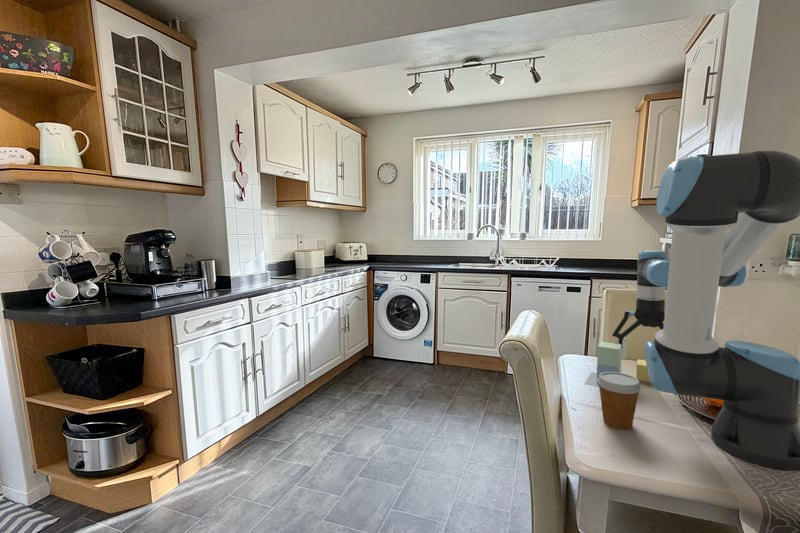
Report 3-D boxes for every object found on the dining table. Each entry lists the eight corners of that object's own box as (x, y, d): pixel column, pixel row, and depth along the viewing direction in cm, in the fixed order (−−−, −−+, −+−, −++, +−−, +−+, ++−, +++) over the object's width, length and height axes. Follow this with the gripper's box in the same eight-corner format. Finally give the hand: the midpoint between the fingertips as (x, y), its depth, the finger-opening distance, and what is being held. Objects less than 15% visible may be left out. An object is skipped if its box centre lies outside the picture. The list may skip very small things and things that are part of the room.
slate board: (629, 395, 105) (629, 393, 105) (584, 386, 113) (584, 383, 112) (632, 382, 115) (632, 379, 115) (591, 374, 122) (591, 372, 122)
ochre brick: (658, 386, 111) (659, 368, 111) (636, 382, 115) (636, 364, 114) (659, 380, 116) (659, 362, 116) (637, 376, 120) (638, 359, 119)
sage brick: (619, 368, 109) (619, 349, 109) (597, 364, 113) (597, 346, 112) (621, 362, 114) (621, 344, 113) (600, 359, 118) (600, 341, 117)
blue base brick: (618, 387, 109) (618, 368, 109) (596, 382, 113) (597, 364, 113) (620, 380, 114) (620, 362, 114) (599, 376, 118) (599, 359, 117)
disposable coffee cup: (595, 411, 96) (596, 369, 95) (636, 418, 92) (637, 374, 91) (597, 428, 88) (598, 382, 87) (643, 437, 84) (644, 388, 83)
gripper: (700, 299, 109) (696, 365, 111) (607, 293, 124) (606, 351, 126) (702, 304, 103) (698, 373, 105) (604, 296, 118) (603, 357, 120)
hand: (648, 361), depth 115 cm, fingers open, 13 cm apart
